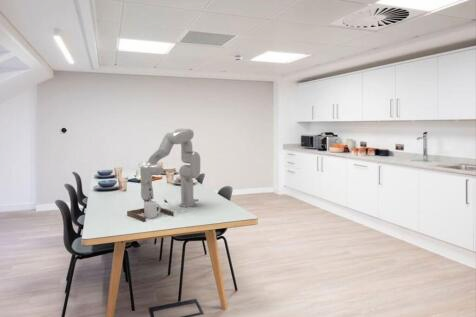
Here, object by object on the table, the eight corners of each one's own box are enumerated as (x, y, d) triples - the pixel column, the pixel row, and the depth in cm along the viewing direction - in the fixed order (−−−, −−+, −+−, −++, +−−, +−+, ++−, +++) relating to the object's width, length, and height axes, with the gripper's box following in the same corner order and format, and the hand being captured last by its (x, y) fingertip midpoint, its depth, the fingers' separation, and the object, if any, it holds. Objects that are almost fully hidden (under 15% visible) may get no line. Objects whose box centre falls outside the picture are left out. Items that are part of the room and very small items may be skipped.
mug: (157, 214, 258) (157, 199, 257) (163, 216, 252) (163, 201, 251) (142, 217, 250) (141, 202, 249) (148, 219, 244) (147, 204, 243)
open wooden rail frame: (155, 210, 270) (155, 206, 270) (173, 215, 252) (173, 211, 252) (127, 215, 255) (127, 211, 255) (144, 222, 237) (144, 217, 237)
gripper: (156, 183, 251) (157, 209, 253) (145, 181, 262) (146, 206, 264) (146, 185, 246) (147, 211, 248) (136, 182, 257) (137, 208, 259)
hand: (147, 208), depth 256 cm, fingers closed
